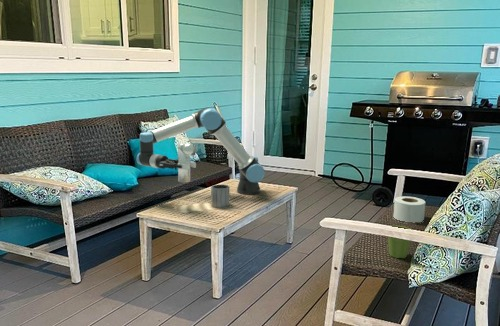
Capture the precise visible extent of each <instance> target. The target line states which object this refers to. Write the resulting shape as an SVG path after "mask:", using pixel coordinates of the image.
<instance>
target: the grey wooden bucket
mask: <svg viewBox="0 0 500 326" xmlns="http://www.w3.org/2000/svg"><path fill="white" fill-rule="evenodd" d="M210 193H211V194H210V196H211V197H210V198H211V201H210V203H211V206H212V207H215V208H221V209H227V208H226V207H229V205H230V186H229V185H227V184H215V185H212V186H211V188H210Z"/></svg>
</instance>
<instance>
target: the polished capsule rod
mask: <svg viewBox="0 0 500 326" xmlns="http://www.w3.org/2000/svg"><path fill="white" fill-rule="evenodd" d="M196 152H197V145H195V144H194V143H187V142H182V143H180V144H179V145H178V147H177V156H178V158H177V159H178V163H179V164H186V165H188V170H184V169H177V172H178V174H177V175H178V176H177V178H178V180H177V182H179V183H182V184H183V183H189V182H191V167H190V162H191V157H193V156H195V154H196Z"/></svg>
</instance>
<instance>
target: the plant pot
mask: <svg viewBox="0 0 500 326" xmlns="http://www.w3.org/2000/svg"><path fill="white" fill-rule="evenodd" d="M391 226H392V227H398V228H404V229H411V230H413V229H412V228H409V227H407V226H404V225H403V226H402V225H391ZM411 242H412V240H411V241H407V240H402V239H397V238H392V237H388V236H387V244H388V245H387V246H388V254H389V256H390V257H393V258H395V259H406V258H407V257H408V253H409V249H410V246H411Z"/></svg>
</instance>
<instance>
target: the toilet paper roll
mask: <svg viewBox="0 0 500 326" xmlns="http://www.w3.org/2000/svg"><path fill="white" fill-rule="evenodd" d="M393 204H394V205H393V216H392V217H394V218H395V219H397V220H400V221H405V222H413V223H415V222H422V221H423V220H424V221H425V212H426V211H425V210H426V204H427V203H426V201H425V200H424V199H422V198H418V197H414V196H404V195H401V196H397V197H395V198H394V203H393ZM394 218H393V219H394ZM395 219H394V220H395ZM424 221H423V222H424ZM423 222H422V223H423Z"/></svg>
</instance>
